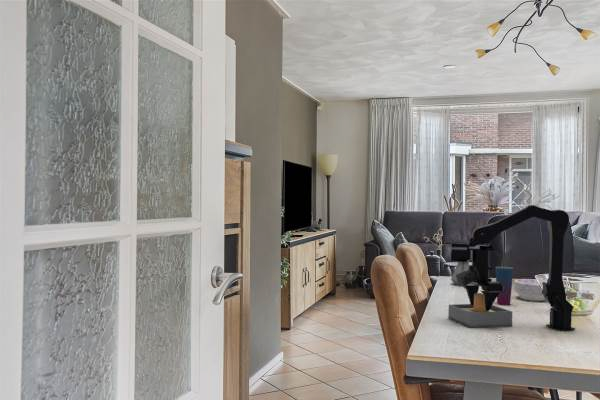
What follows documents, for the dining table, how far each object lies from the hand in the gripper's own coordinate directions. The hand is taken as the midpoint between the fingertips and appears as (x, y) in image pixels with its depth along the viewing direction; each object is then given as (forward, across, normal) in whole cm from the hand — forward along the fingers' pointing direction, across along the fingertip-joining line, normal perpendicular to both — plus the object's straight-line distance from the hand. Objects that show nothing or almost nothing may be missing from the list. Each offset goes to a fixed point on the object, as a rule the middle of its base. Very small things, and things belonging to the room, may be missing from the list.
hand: (479, 308), depth 184 cm
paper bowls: (+5, -36, +49) cm, 61 cm away
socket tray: (+5, 0, 0) cm, 5 cm away
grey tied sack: (+5, -71, +36) cm, 80 cm away
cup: (+5, -28, +29) cm, 41 cm away
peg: (+4, 0, 0) cm, 4 cm away
